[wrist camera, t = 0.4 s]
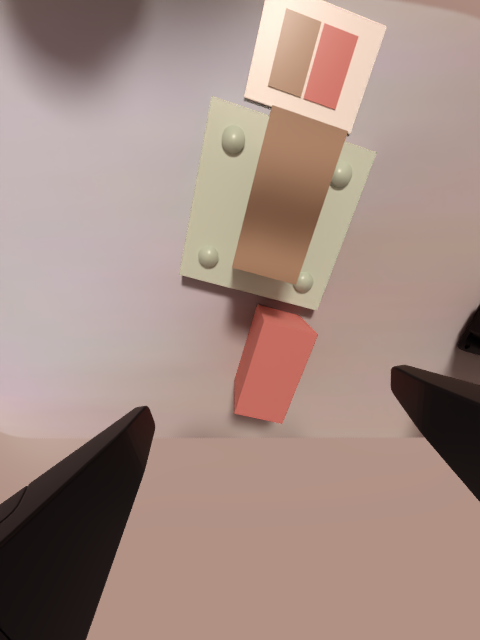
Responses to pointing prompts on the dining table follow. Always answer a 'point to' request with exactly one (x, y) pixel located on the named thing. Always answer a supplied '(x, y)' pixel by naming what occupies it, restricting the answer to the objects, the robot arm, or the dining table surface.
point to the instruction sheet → (313, 60)
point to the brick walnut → (287, 194)
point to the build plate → (232, 198)
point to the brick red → (272, 364)
